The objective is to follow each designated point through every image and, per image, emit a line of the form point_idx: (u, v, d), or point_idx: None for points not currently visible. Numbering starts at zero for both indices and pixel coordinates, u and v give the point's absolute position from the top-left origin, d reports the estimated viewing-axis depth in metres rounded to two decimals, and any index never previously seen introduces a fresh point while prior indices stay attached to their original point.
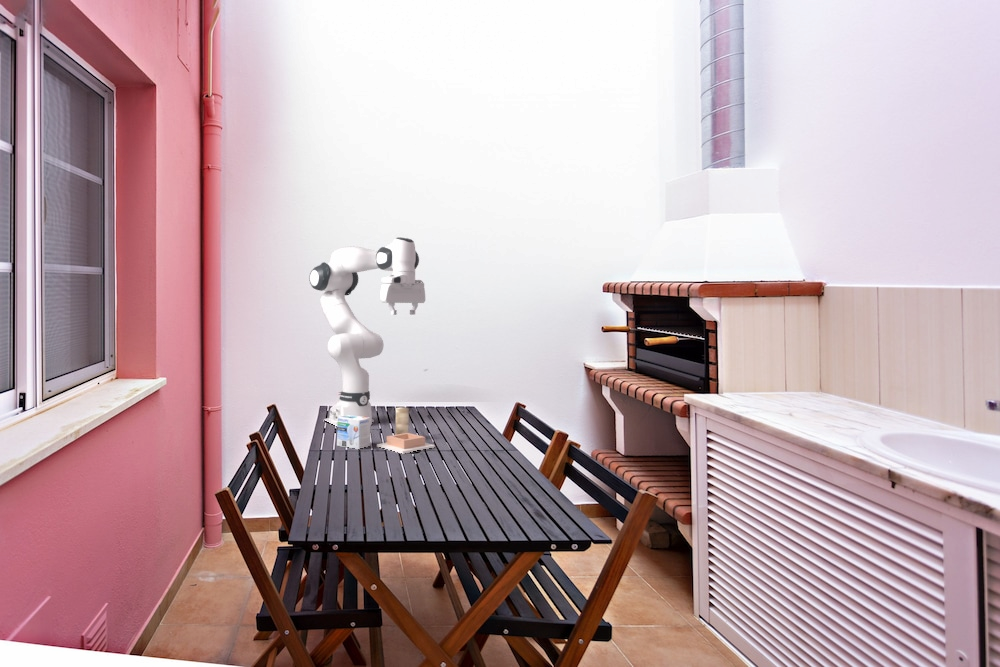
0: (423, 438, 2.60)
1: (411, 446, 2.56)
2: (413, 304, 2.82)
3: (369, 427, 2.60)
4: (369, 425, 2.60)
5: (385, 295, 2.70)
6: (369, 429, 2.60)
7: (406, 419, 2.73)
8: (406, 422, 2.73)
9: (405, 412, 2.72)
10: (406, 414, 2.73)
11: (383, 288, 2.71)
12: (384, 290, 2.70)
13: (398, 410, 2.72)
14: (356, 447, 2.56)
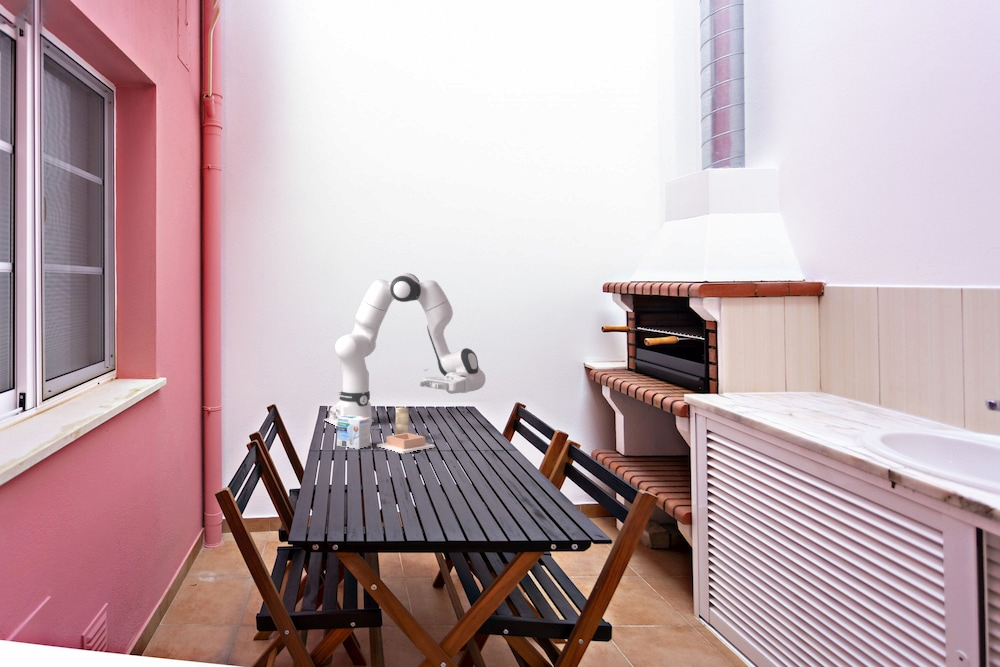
0: (423, 438, 2.60)
1: (411, 446, 2.56)
2: (427, 383, 2.90)
3: (369, 427, 2.60)
4: (369, 425, 2.60)
5: (459, 389, 2.82)
6: (369, 429, 2.60)
7: (406, 419, 2.73)
8: (406, 422, 2.73)
9: (405, 412, 2.72)
10: (406, 414, 2.73)
11: (463, 384, 2.84)
12: (461, 387, 2.83)
13: (398, 410, 2.72)
14: (356, 447, 2.56)
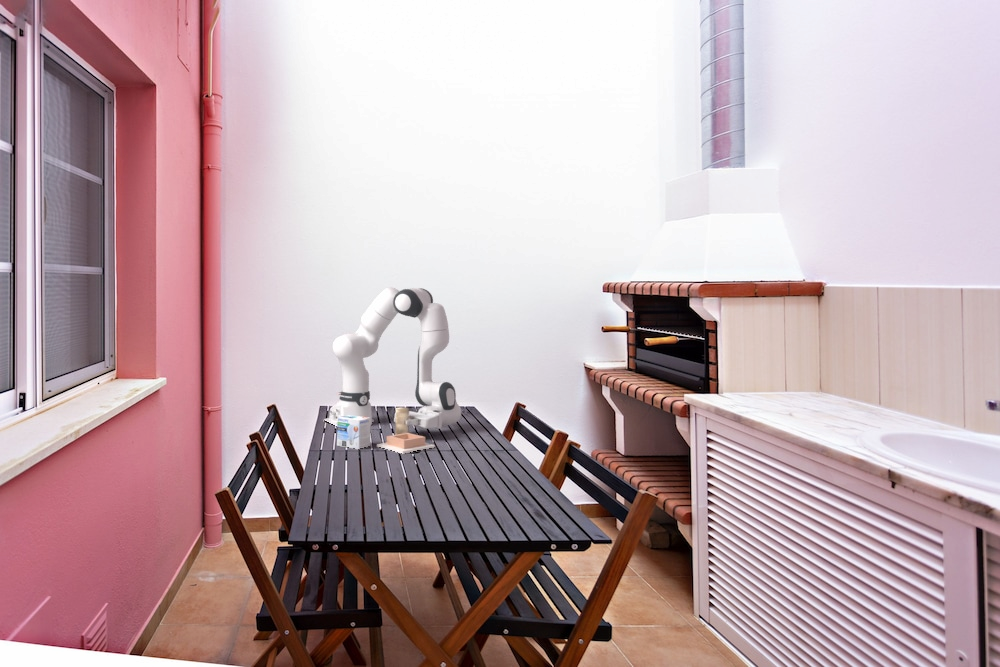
0: (423, 438, 2.60)
1: (411, 446, 2.56)
2: None
3: (369, 427, 2.60)
4: (369, 425, 2.60)
5: (432, 426, 2.73)
6: (369, 429, 2.60)
7: (406, 419, 2.73)
8: None
9: (405, 412, 2.72)
10: (406, 414, 2.73)
11: (436, 420, 2.75)
12: (434, 424, 2.74)
13: (398, 410, 2.72)
14: (356, 447, 2.56)
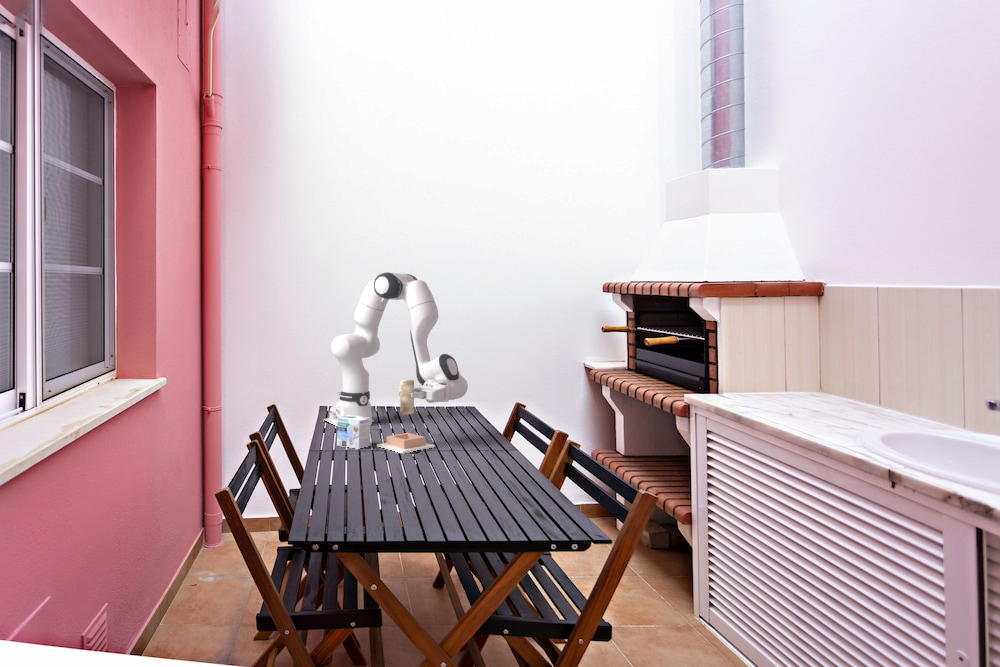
0: (423, 438, 2.60)
1: (411, 446, 2.56)
2: None
3: (369, 427, 2.60)
4: (369, 425, 2.60)
5: (438, 398, 2.60)
6: (369, 429, 2.60)
7: (411, 392, 2.61)
8: None
9: (410, 384, 2.60)
10: (411, 386, 2.61)
11: (443, 392, 2.63)
12: (441, 396, 2.62)
13: (403, 382, 2.60)
14: (356, 447, 2.56)
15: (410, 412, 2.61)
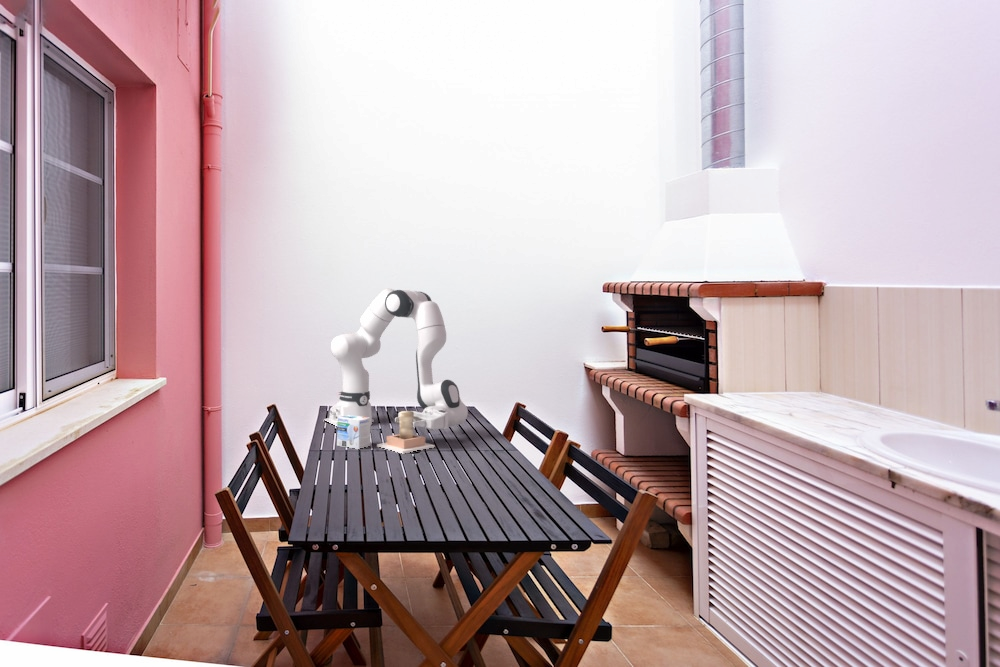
0: (423, 438, 2.60)
1: (411, 446, 2.56)
2: None
3: (369, 427, 2.60)
4: (369, 425, 2.60)
5: (437, 426, 2.58)
6: (369, 429, 2.60)
7: (411, 423, 2.59)
8: (411, 427, 2.59)
9: (409, 416, 2.58)
10: (411, 418, 2.59)
11: (442, 420, 2.61)
12: (440, 424, 2.60)
13: (402, 414, 2.58)
14: (356, 447, 2.56)
15: None
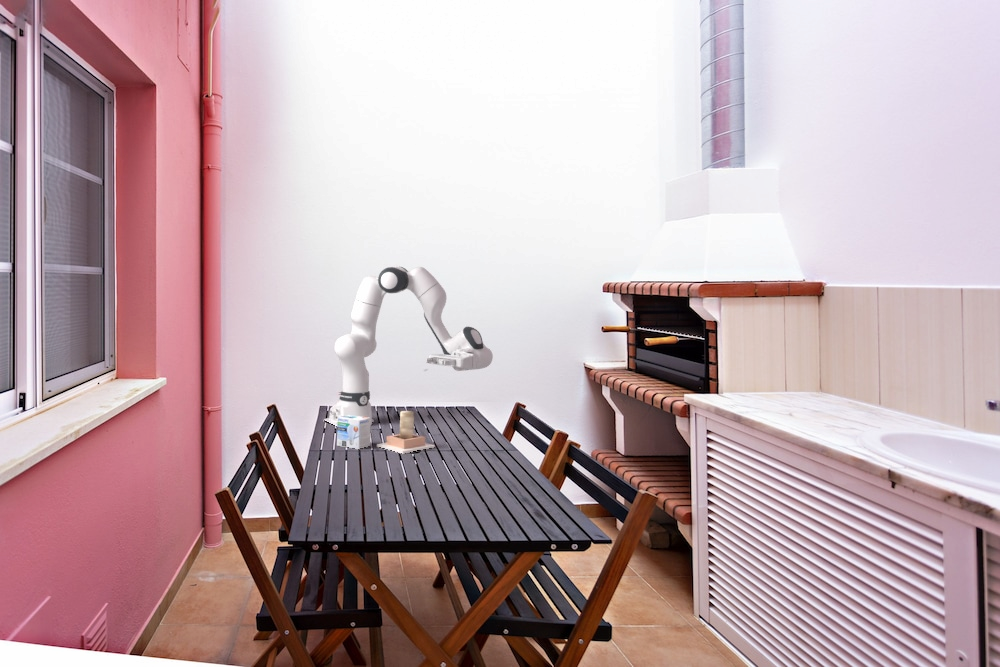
0: (423, 438, 2.60)
1: (411, 446, 2.56)
2: (434, 360, 2.84)
3: (369, 427, 2.60)
4: (369, 425, 2.60)
5: (466, 366, 2.76)
6: (369, 429, 2.60)
7: (411, 423, 2.59)
8: (411, 427, 2.59)
9: (410, 416, 2.58)
10: (411, 418, 2.59)
11: (471, 360, 2.78)
12: (469, 364, 2.77)
13: (403, 414, 2.58)
14: (356, 447, 2.56)
15: None
